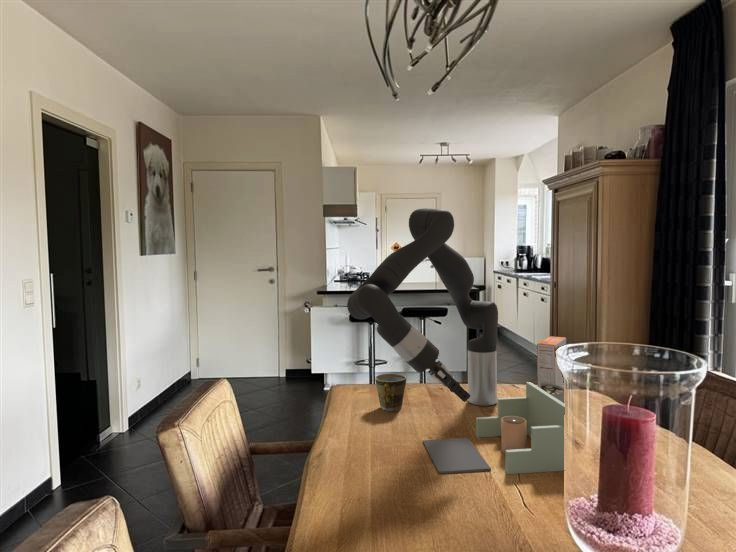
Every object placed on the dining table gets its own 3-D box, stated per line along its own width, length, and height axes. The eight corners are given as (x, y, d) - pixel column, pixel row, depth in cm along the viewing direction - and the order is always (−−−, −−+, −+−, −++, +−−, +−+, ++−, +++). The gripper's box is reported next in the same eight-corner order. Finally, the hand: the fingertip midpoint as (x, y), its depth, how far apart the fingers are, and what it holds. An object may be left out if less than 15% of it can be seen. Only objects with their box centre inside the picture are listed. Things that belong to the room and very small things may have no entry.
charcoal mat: (422, 442, 125) (422, 440, 125) (467, 439, 126) (467, 437, 126) (439, 473, 107) (439, 471, 107) (491, 470, 108) (491, 468, 108)
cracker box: (548, 397, 161) (548, 335, 160) (567, 400, 157) (567, 337, 156) (536, 408, 149) (535, 342, 148) (556, 412, 146) (556, 344, 145)
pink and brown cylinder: (497, 447, 121) (497, 416, 121) (520, 446, 121) (520, 415, 121) (506, 457, 115) (506, 424, 115) (530, 456, 115) (530, 423, 115)
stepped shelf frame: (476, 435, 129) (475, 384, 128) (530, 432, 130) (530, 381, 129) (507, 474, 107) (507, 412, 106) (572, 469, 108) (572, 408, 107)
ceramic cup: (380, 402, 159) (379, 372, 159) (409, 404, 157) (409, 374, 156) (369, 415, 147) (369, 383, 146) (401, 417, 144) (401, 385, 144)
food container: (571, 432, 130) (571, 395, 130) (547, 430, 131) (547, 394, 131) (562, 416, 142) (562, 383, 142) (540, 415, 143) (540, 382, 143)
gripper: (432, 342, 108) (482, 390, 109) (420, 332, 122) (464, 375, 124) (409, 367, 108) (459, 414, 109) (399, 353, 122) (444, 396, 123)
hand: (462, 393), depth 116 cm, fingers open, 8 cm apart
